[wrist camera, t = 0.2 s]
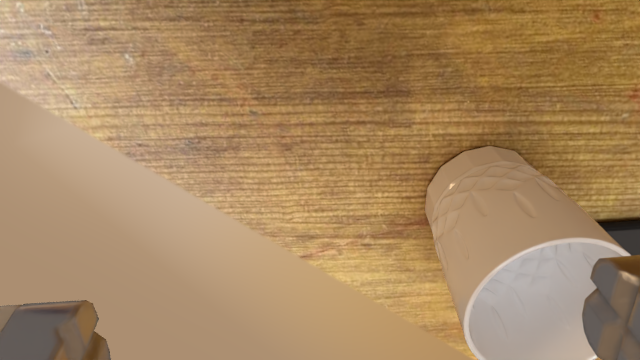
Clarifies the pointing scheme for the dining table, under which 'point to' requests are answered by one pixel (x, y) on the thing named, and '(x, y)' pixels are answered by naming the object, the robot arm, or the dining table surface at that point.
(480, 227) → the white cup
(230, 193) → the dining table surface
